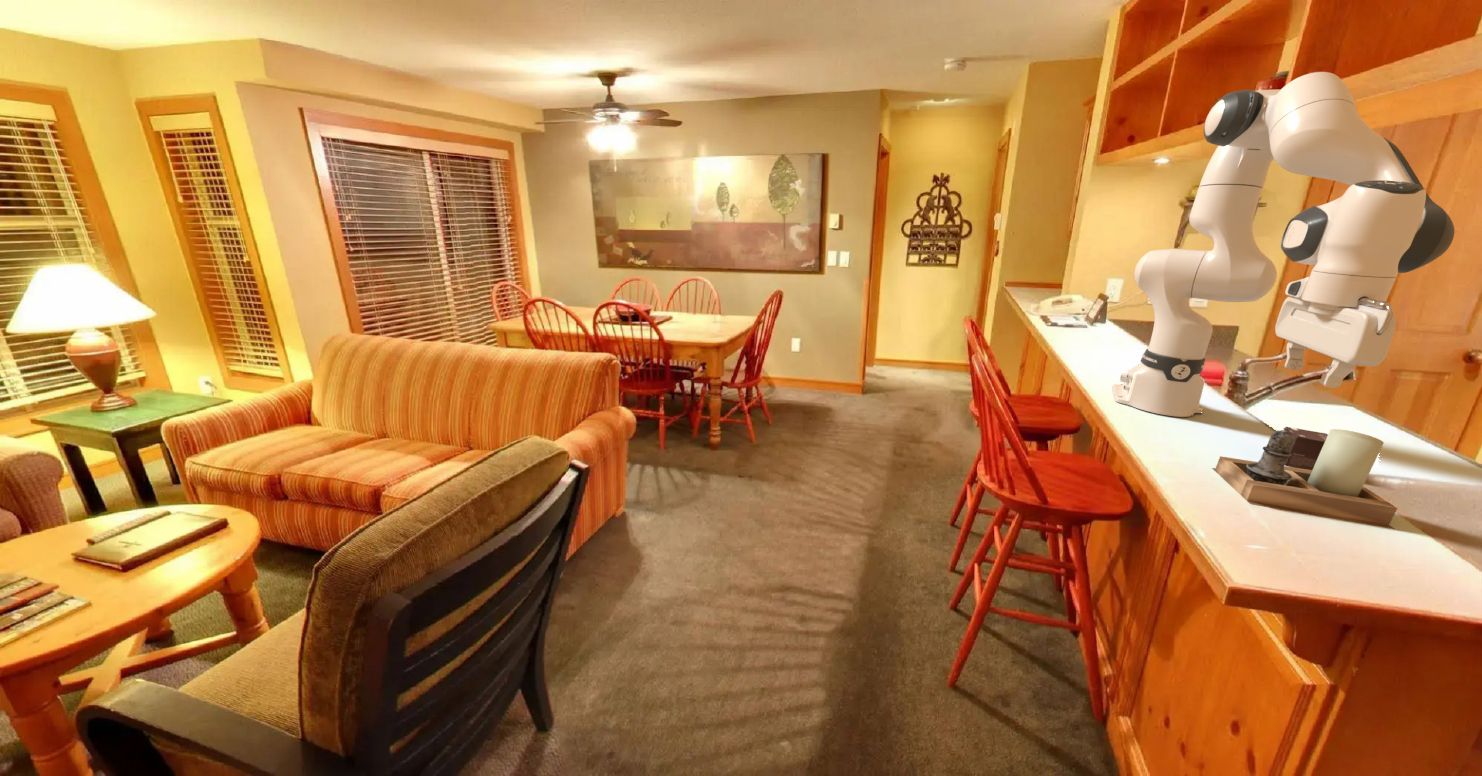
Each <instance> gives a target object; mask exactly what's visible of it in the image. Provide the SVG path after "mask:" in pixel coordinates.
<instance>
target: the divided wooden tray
mask: <svg viewBox="0 0 1482 776" xmlns="http://www.w3.org/2000/svg"><path fill="white" fill-rule="evenodd" d="M1249 463H1258V461H1252V460H1247V459H1239V458H1233V457H1227V456H1219V459H1218V461H1217V464H1216V465H1215V466H1216V467H1213V468H1211V469H1212V470H1213V471H1214V472H1215V473H1217V475H1219V476H1220V477H1221V478H1222V479H1223V480H1224V481H1225V482H1226V483H1227V484H1228V485H1229V486H1230V487H1231V488H1233V489H1234V491H1236V492H1237V493H1238V494H1239V495H1240V496H1241V497H1242V498H1243V499H1244V500H1245V501H1246V502H1248V503H1249V504H1250V505H1253V506H1258V507H1259V506H1260V507H1264V508H1265V507H1266V508H1271V509H1276V510H1283V511H1288V512H1294V513H1300V514H1304V515H1305V514H1306V515H1309V516H1310V515H1311V516H1318V517H1323V518H1329V519H1335V520H1340V521H1345V522H1346V521H1347V522H1353V523H1358V524H1364V525H1369V526H1375V527H1381V528H1387V529H1393V530H1396V528H1395V527H1394V526H1392V525H1391V522H1392V520H1393V518H1394V517H1395V515H1396V512H1397V511H1398V507H1396V506H1395V505H1393V504H1392V503H1390V502H1389V501H1387V500H1385V499H1384V498H1382V497H1381V496H1379V495H1378V494H1376V493H1374V492H1373V491H1371V490H1370V489H1369V488H1367V487H1365V486H1364V485H1363V487H1362V489H1361V491H1360V493H1359V495H1358V497H1353V496H1347V495H1341V494H1335V493H1328V492H1322V491H1319V490H1318V489H1316V488H1315V487H1313V486H1312V485H1311V484H1309V483H1308V482H1307V481H1308V479H1309V477H1310V475H1311V472H1312V470H1307V469H1301V468H1294V467H1289V466H1285V465H1284V471H1285V472H1287V473H1289V474H1290V475H1291V476H1292V478H1291V479H1289V480H1288V481H1287V483H1285V484H1284V485H1279V484H1272V483H1266V482H1260V481H1254V480H1253V479H1252V478H1251V477H1249V476H1248V475H1247V469H1248V468H1247V467H1246V465H1247V464H1249Z"/></svg>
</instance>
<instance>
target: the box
mask: <svg viewBox="0 0 1482 776" xmlns="http://www.w3.org/2000/svg"><path fill="white" fill-rule="evenodd" d="M1287 427H1288V429H1289V430H1287V431H1288V432H1289V433H1291V434H1292V435H1293V436H1294V437H1295V439H1294V441H1293V444H1292V446H1291V449H1290V451H1289V452H1290V453H1291V456H1288V457H1287V460H1286V462H1285V465H1284V466H1287V467H1294V468H1301V469H1307V470H1313V468H1314V465H1315V463H1316V461H1317V459H1318V456H1319V454H1320V452H1321V450H1322V447H1323V445H1324V443H1325V441H1326V438H1327V436H1328V434H1329V433H1325V432H1321V431H1320V432H1319V431H1312V430H1307V429H1301V428H1295V427H1289V426H1287Z"/></svg>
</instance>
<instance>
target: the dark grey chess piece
mask: <svg viewBox="0 0 1482 776" xmlns="http://www.w3.org/2000/svg"><path fill="white" fill-rule="evenodd" d="M1288 427H1289V426H1285V427H1283V429H1281V430H1275V431H1273V432H1272V433H1271V435H1270V437H1269V439H1268V442H1267V444H1266V446H1263V447H1262V450H1263V453H1262V455H1261V458H1260V459H1259V460H1258V461H1257V462H1258V463H1249V464H1247V465H1246V467H1247V468H1248V469H1247V475H1248V476H1249V477H1251V478H1252V479H1253V480H1254V481H1260V482H1266V483H1272V484H1279V485H1284V484H1285V483H1287V481H1288V480H1289V479H1291V478H1292V476H1291V475H1290V474H1289V473H1287V472H1285V471H1284V466H1285V462H1286V460H1287V457H1288V456H1291V453H1290V452H1289V451H1290V449H1291V446H1292V444H1293V441H1294V439H1295V437H1294V436H1293V435H1292V434H1291V433H1289V432H1288V431H1287V430H1289V429H1288Z"/></svg>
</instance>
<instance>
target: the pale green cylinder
mask: <svg viewBox="0 0 1482 776" xmlns="http://www.w3.org/2000/svg"><path fill="white" fill-rule="evenodd" d="M1327 434H1328V436H1327V438H1326V441H1325V443H1324V445H1323V447H1322V450H1321V452H1320V454H1319V456H1318V459H1317V461H1316V463H1315V465H1314V468H1313V470H1312V472H1311V475H1310V477H1309V479H1308V481H1307V482H1308V483H1309V484H1311V485H1312V486H1313V487H1315V488H1316V489H1318V490H1319V491H1322V492H1328V493H1335V494H1341V495H1347V496H1353V497H1358V495H1359V493H1360V491H1361V489H1362V487H1363V486H1364V485H1365V484H1366V481H1367V478H1368V477H1369V474H1370V473H1371V471H1372V468H1373V466H1374V464H1375V462H1376V460H1377V458H1378V456H1379V454H1380V451H1381V450H1382V447H1383V445H1384V444H1385V443H1384V441H1383V440H1382V439H1379V438H1377V437H1374V436H1371V435H1368V434H1365V433H1361V432H1356V431H1351V430H1348V429H1340V428H1339V429H1338V428H1337V429H1335V428H1334V429H1330V430H1329V432H1328V433H1327Z"/></svg>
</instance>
